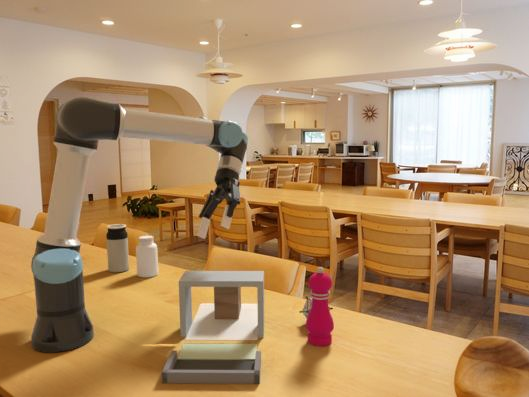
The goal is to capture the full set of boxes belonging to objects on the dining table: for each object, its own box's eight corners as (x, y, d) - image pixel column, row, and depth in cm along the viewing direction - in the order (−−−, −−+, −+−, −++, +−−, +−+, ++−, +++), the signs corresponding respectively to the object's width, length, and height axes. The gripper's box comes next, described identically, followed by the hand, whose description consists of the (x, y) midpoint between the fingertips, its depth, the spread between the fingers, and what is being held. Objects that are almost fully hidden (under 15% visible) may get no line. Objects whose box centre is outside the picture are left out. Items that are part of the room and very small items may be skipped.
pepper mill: (315, 349, 117) (316, 272, 114) (300, 338, 124) (300, 265, 121) (339, 343, 120) (340, 268, 118) (323, 332, 127) (324, 261, 124)
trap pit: (172, 360, 112) (171, 350, 112) (261, 360, 112) (260, 351, 111) (162, 383, 102) (161, 372, 102) (259, 383, 101) (259, 373, 101)
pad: (186, 338, 124) (186, 336, 124) (257, 338, 123) (257, 337, 123) (177, 360, 112) (177, 358, 112) (256, 361, 112) (255, 359, 111)
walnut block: (218, 307, 144) (217, 273, 142) (241, 307, 144) (240, 273, 142) (214, 319, 135) (213, 282, 134) (238, 319, 135) (238, 282, 133)
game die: (321, 338, 132) (331, 319, 125) (293, 325, 133) (301, 306, 127) (329, 313, 139) (339, 294, 132) (302, 301, 140) (311, 282, 133)
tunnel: (196, 305, 148) (194, 256, 145) (265, 305, 147) (265, 256, 145) (179, 341, 122) (177, 283, 120) (263, 342, 121) (262, 283, 119)
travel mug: (133, 269, 187) (131, 225, 185) (117, 274, 181) (115, 228, 178) (120, 266, 192) (117, 223, 189) (104, 270, 185) (101, 226, 182)
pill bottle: (132, 276, 177) (130, 238, 175) (145, 270, 185) (144, 233, 182) (150, 279, 174) (148, 240, 172) (162, 273, 182) (161, 235, 180)
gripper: (260, 165, 143) (246, 227, 133) (217, 189, 161) (202, 245, 151) (241, 154, 139) (225, 217, 129) (198, 179, 158) (182, 236, 148)
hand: (212, 232), depth 140 cm, fingers open, 13 cm apart
